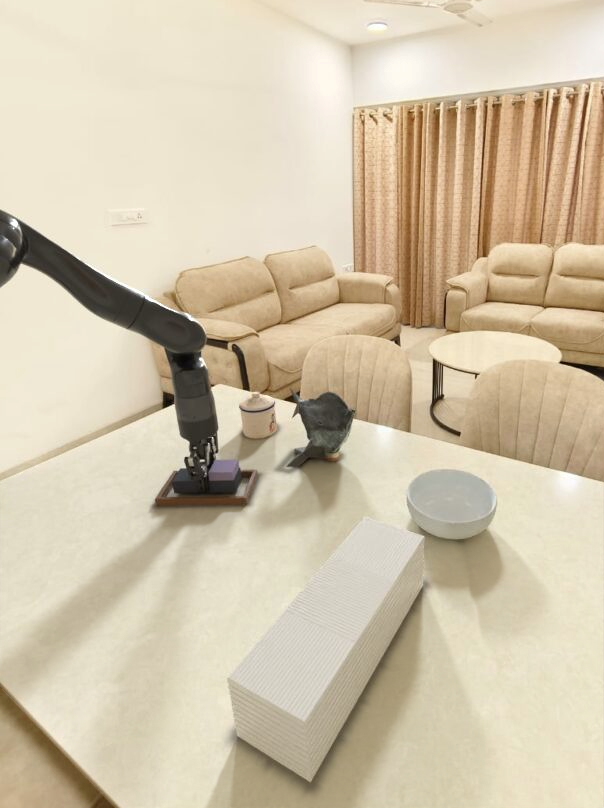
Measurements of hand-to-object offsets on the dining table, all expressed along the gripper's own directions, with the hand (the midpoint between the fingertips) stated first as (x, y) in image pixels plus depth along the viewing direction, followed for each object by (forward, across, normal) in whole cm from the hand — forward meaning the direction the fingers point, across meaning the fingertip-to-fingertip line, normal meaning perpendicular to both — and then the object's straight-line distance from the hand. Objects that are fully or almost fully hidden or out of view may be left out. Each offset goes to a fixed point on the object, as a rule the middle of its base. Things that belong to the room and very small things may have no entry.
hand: (208, 483), depth 106 cm
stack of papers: (+3, -39, -31) cm, 50 cm away
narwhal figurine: (+3, +12, -23) cm, 26 cm away
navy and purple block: (+1, 0, 0) cm, 1 cm away
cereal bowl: (+3, -11, -50) cm, 51 cm away
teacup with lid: (+3, +28, -5) cm, 29 cm away
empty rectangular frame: (+3, 0, 0) cm, 3 cm away
